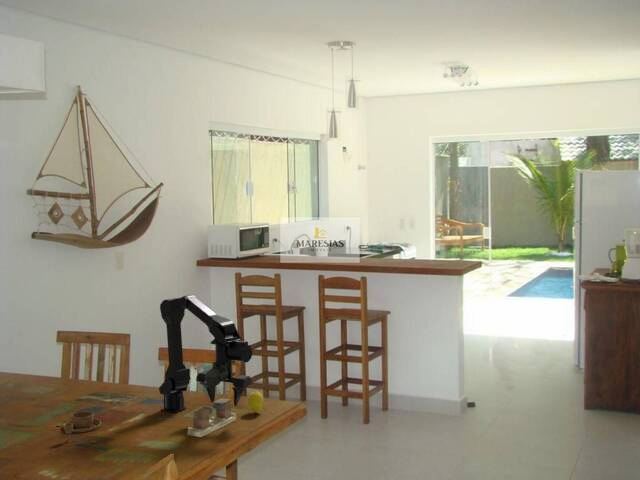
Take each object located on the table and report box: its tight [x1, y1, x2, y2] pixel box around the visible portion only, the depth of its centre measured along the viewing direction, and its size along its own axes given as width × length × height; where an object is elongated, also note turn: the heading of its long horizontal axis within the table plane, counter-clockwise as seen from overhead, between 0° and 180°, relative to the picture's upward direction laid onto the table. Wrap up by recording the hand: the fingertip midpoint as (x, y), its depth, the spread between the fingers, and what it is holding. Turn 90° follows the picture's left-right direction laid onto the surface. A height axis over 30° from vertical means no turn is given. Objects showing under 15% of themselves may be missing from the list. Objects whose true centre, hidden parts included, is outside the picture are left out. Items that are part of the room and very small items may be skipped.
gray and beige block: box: [212, 397, 232, 420], centre depth 256 cm, size 4×5×6 cm, turn 154°
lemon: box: [247, 390, 265, 414], centre depth 268 cm, size 6×6×8 cm
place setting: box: [56, 411, 102, 443], centre depth 247 cm, size 18×20×6 cm
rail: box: [187, 406, 237, 438], centre depth 252 cm, size 5×20×8 cm, turn 154°
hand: (224, 404), depth 257 cm, fingers open, 9 cm apart
